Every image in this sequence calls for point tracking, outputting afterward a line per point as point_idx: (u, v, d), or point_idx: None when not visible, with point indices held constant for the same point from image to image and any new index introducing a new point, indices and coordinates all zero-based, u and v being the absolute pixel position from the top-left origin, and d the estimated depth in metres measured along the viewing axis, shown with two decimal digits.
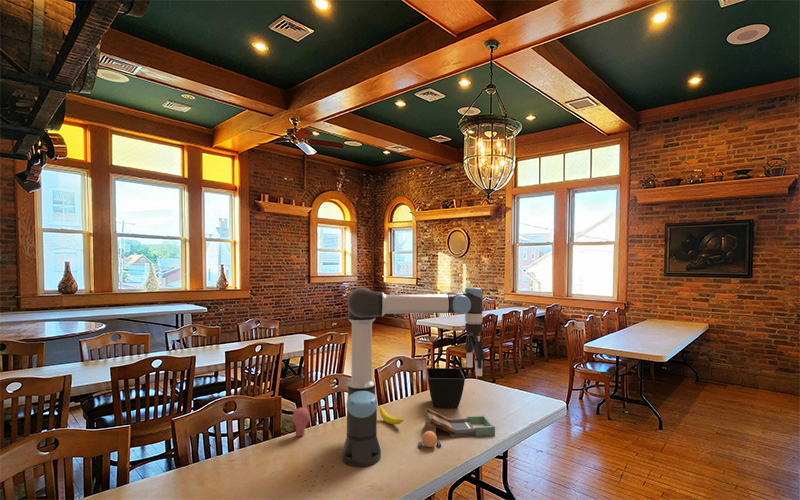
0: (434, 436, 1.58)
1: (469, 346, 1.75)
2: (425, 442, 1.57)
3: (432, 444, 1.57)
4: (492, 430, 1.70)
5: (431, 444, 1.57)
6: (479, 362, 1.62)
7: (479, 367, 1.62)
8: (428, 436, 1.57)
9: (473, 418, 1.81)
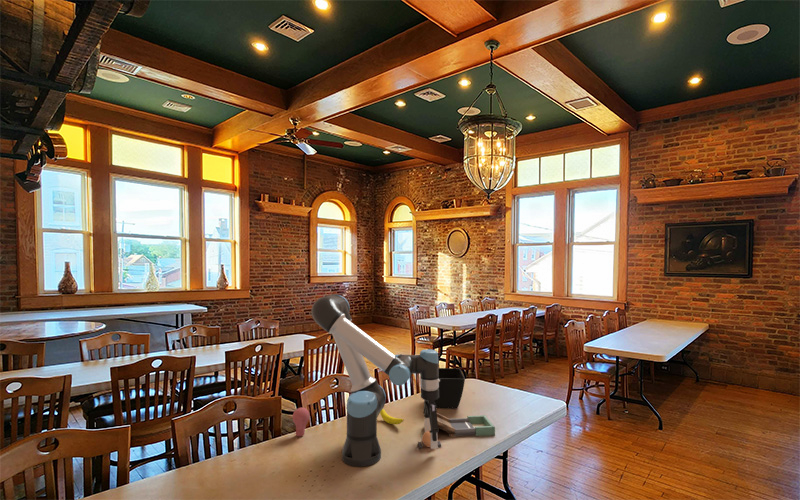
0: None
1: (426, 412, 1.64)
2: (425, 442, 1.57)
3: None
4: (492, 430, 1.70)
5: None
6: (434, 434, 1.51)
7: (434, 439, 1.51)
8: (428, 436, 1.57)
9: (473, 418, 1.81)
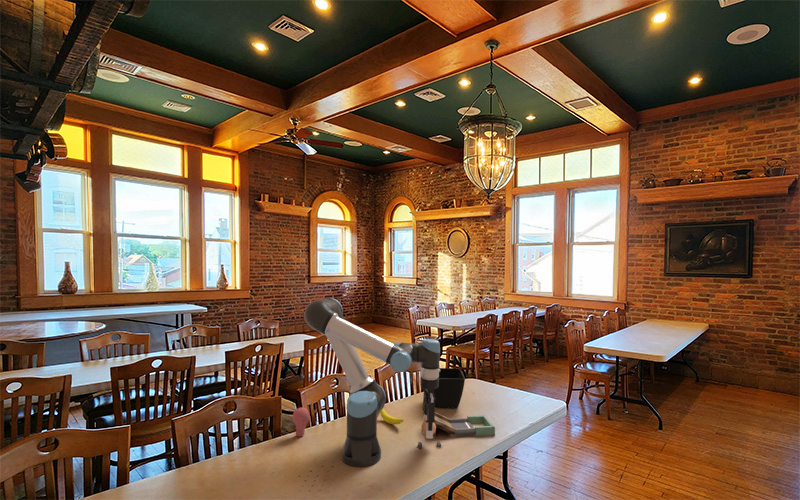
0: (433, 425, 1.58)
1: (426, 405, 1.62)
2: (424, 431, 1.57)
3: None
4: (492, 430, 1.70)
5: None
6: (429, 424, 1.55)
7: (429, 429, 1.55)
8: None
9: (473, 418, 1.81)
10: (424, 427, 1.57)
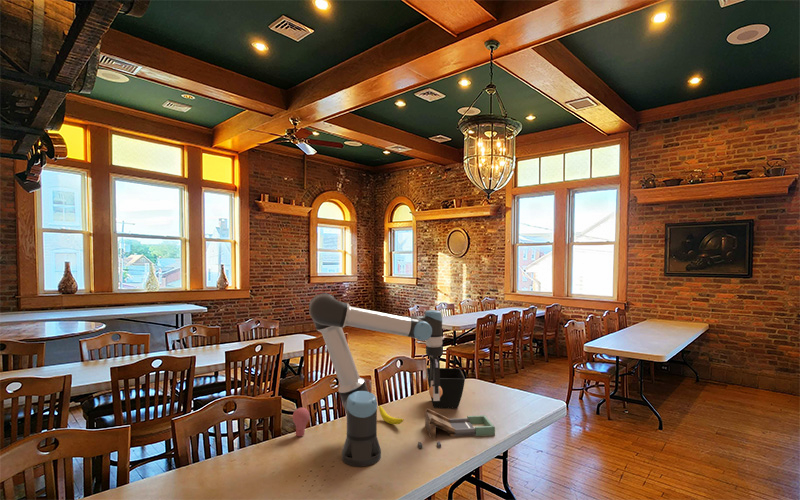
0: (439, 388, 1.70)
1: (432, 371, 1.74)
2: (431, 394, 1.70)
3: None
4: (492, 430, 1.70)
5: None
6: (436, 387, 1.67)
7: (436, 392, 1.67)
8: None
9: (473, 418, 1.81)
10: (431, 391, 1.70)
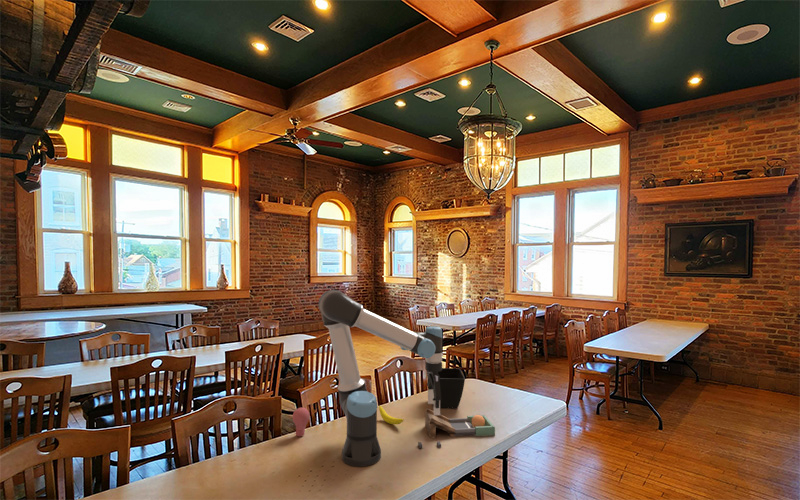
0: (484, 423, 1.74)
1: (430, 383, 1.79)
2: (475, 421, 1.74)
3: None
4: (492, 430, 1.70)
5: (478, 426, 1.73)
6: (437, 402, 1.66)
7: (437, 407, 1.66)
8: (481, 420, 1.74)
9: None
10: (478, 419, 1.74)
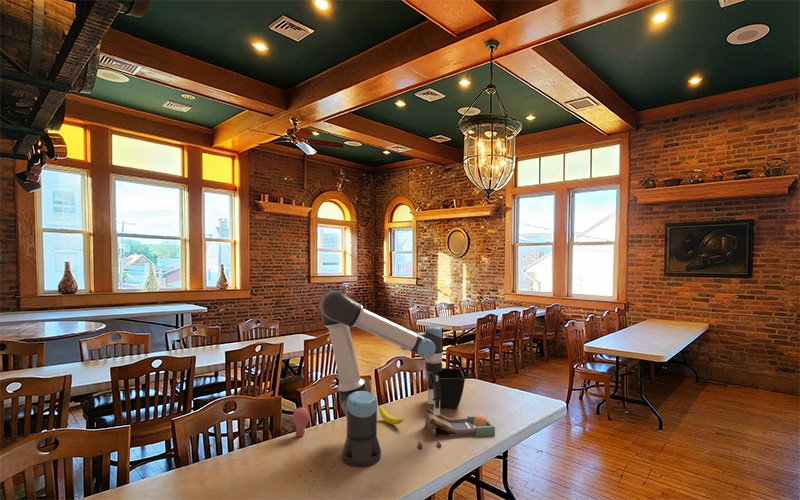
0: (486, 425, 1.75)
1: (430, 383, 1.79)
2: (479, 419, 1.74)
3: None
4: (492, 430, 1.70)
5: (480, 425, 1.73)
6: (437, 402, 1.66)
7: (437, 407, 1.66)
8: (485, 420, 1.74)
9: (473, 418, 1.81)
10: (482, 418, 1.74)
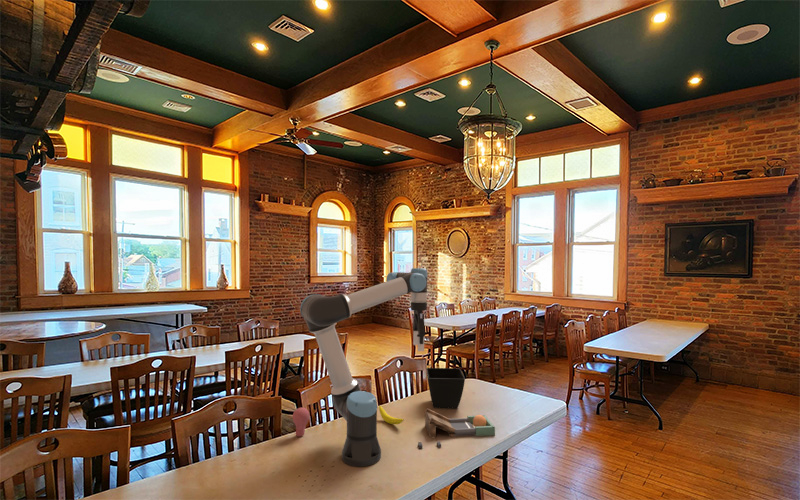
0: (485, 424, 1.75)
1: (415, 324, 1.83)
2: (478, 420, 1.74)
3: None
4: (492, 430, 1.70)
5: None
6: (421, 338, 1.70)
7: (421, 342, 1.70)
8: (483, 420, 1.74)
9: (473, 418, 1.81)
10: (480, 418, 1.74)
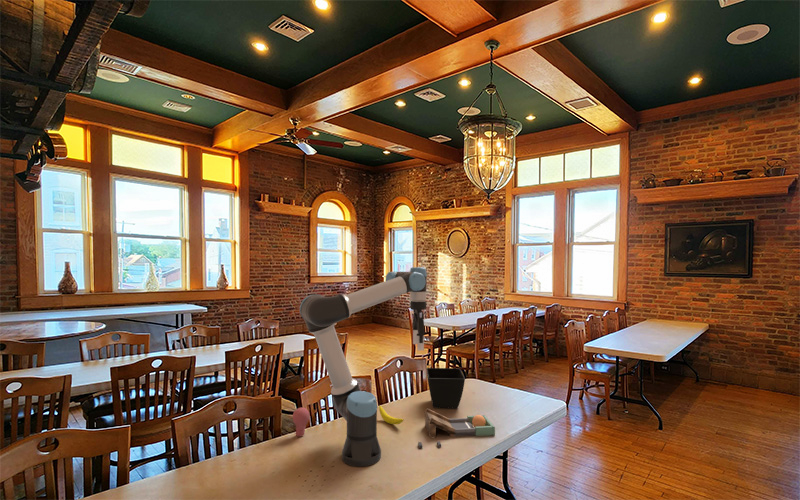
0: None
1: (415, 323, 1.83)
2: (476, 420, 1.74)
3: None
4: (492, 430, 1.70)
5: None
6: (420, 337, 1.70)
7: (420, 342, 1.70)
8: (482, 420, 1.74)
9: None
10: (479, 418, 1.74)
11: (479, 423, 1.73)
